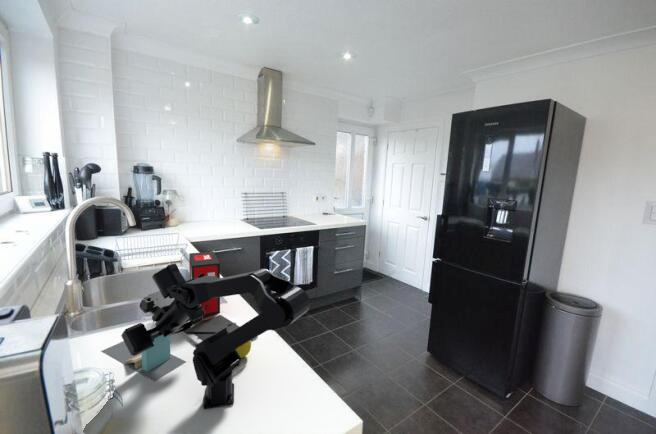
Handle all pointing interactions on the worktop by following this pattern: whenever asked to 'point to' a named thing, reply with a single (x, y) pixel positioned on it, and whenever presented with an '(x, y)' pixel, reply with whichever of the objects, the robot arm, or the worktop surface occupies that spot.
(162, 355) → the card deck
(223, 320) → the picture frame
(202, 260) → the cleaning product box
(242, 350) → the lemon
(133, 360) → the ramp
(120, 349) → the mat
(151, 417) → the worktop surface
